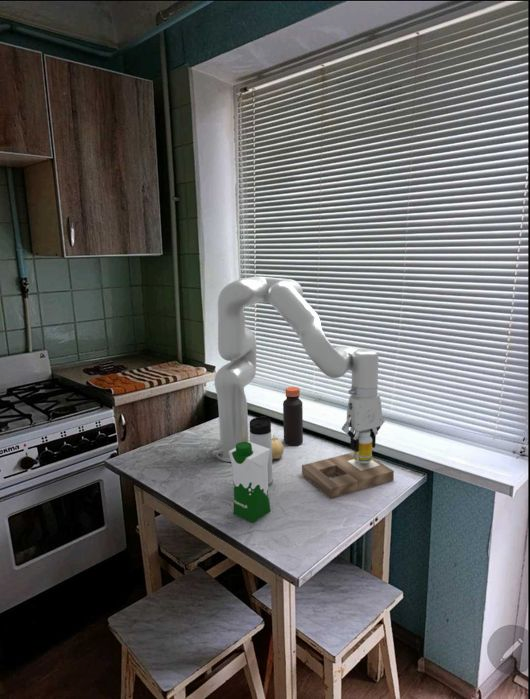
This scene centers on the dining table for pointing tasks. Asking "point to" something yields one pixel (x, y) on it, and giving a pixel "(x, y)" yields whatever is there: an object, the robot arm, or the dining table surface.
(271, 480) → the travel mug
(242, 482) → the milk carton
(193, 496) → the dining table surface
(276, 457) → the onion
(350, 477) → the socket board
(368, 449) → the supplement bottle
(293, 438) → the vinegar
